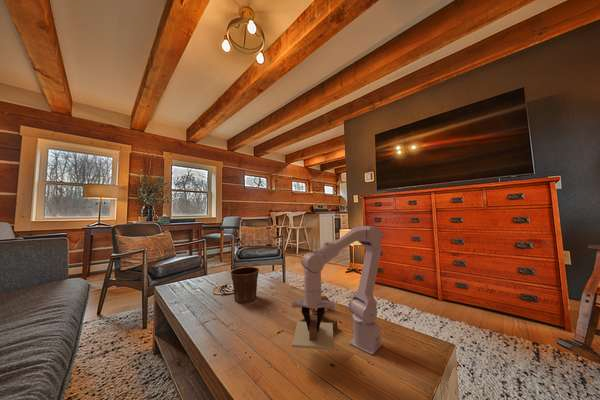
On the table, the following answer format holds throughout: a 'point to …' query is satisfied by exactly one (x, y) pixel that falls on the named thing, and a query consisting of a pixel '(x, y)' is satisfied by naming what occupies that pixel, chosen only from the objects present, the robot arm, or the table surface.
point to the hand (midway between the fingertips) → (313, 329)
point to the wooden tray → (325, 321)
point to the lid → (313, 335)
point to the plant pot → (244, 284)
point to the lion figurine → (321, 299)
